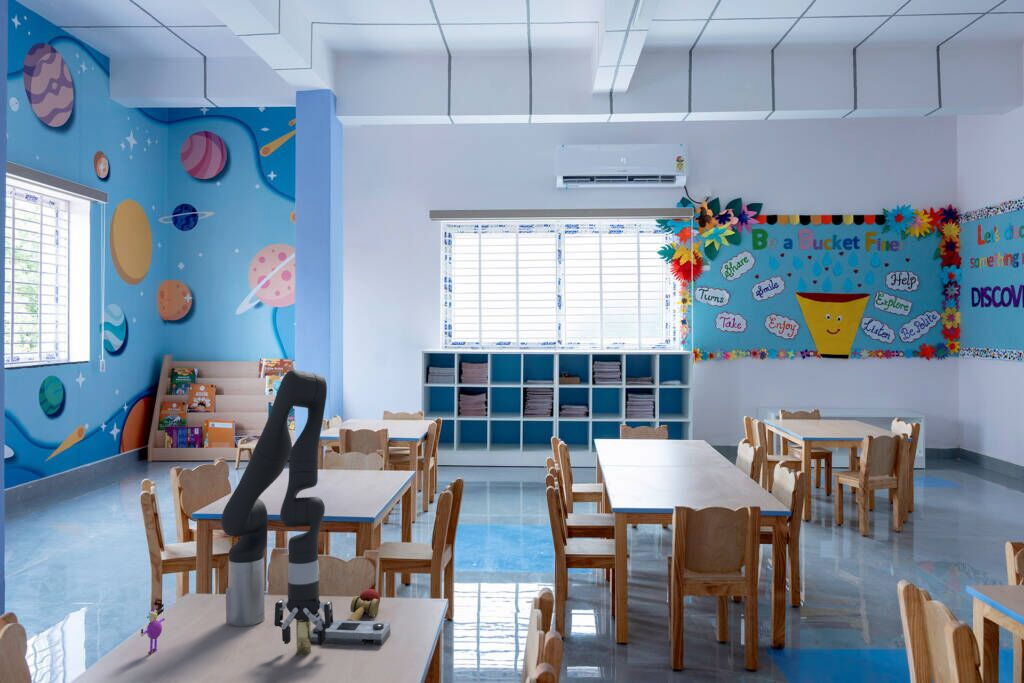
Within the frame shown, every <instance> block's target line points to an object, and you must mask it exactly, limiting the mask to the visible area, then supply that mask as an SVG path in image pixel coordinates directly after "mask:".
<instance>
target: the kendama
mask: <svg viewBox="0 0 1024 683" xmlns="http://www.w3.org/2000/svg"><path fill="white" fill-rule="evenodd" d="M380 603H381V596H380V594H379V592H378V591H377V590H376V589H373V588H368V589H365V590H363V591H362V592H361V593H360V594H359V595H355V596H353V598H352V600H351V603H350V612H351V613H353V614H351V615H350V617H348V619H347V621H361V618H362V617H363V614H364V612H366V614H368V615H369V617H370V616H371V618H374V615H375V614H376V615H377V614H378V610H379V606H380Z"/></svg>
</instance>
